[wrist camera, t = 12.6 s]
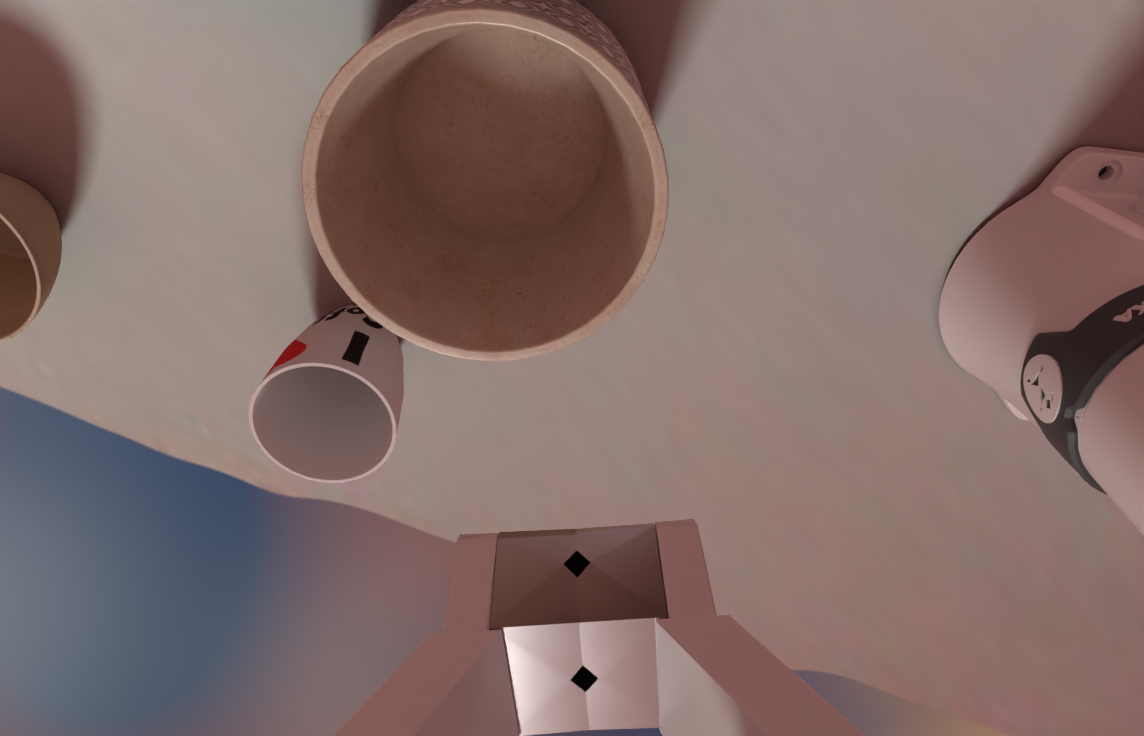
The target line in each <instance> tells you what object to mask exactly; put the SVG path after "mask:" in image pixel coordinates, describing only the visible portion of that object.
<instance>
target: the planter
mask: <svg viewBox="0 0 1144 736" xmlns="http://www.w3.org/2000/svg"><path fill="white" fill-rule="evenodd" d="M301 174H302V189H303V202H304V207H305V211H306V215H307V219H308V224H309V228H310V231H311V233H312V236H313V238H314V241H315V243H316V246H317V248H318V251H319V253H320V255H321V257H322V259H323V260H324V262H325V264H326V265H327V267H328V269H329V270H330V272H331V274H332V275H333V277H334V279H335V280H336V281H337V282H338V284H339V285H340V286H341V287H342V289H343V290H344V291H345V292H346V294H347V295H348V296H349V297H350V298H351V300H352V301H354V302H355V303H356V304H357V305H358V306H359V307H360V308H361V309H362V310H363V311H364V312H365V313H366V314H367V315H369V316H370V317H371V318H372V319H374V320H375V321H376V322H378V323H379V324H381V325H382V326H383V327H385V328H386V329H388V330H389V331H391V332H392V333H394V334H396V335H398V336H399V337H401V338H403V339H405V340H407V341H409V342H411V343H413V344H415V345H417V346H420V347H423V348H426V349H428V350H431V351H434V352H437V353H440V354H443V355H448V356H453V357H457V358H462V359H467V360H481V361H507V360H520V359H525V358H530V357H535V356H540V355H544V354H547V353H550V352H552V351H555V350H558V349H561V348H564V347H567V346H569V345H571V344H572V343H574V342H576V341H578V340H580V339H582V338H584V337H586V336H588V335H590V334H591V333H592V332H594V331H595V330H597V329H598V328H599V327H601V326H602V325H603V324H605V323H606V322H607V321H609V320H610V319H611V318H612V317H613V316H614V315H615V314H616V313H617V312H618V311H619V310H620V309H621V308H622V307H623V306H624V305H625V304H626V303H627V302H628V301H629V300H630V299H631V297H632V296H633V295H634V293H635V292H636V290H637V289H638V288H639V286H640V285H641V284H642V282H643V281H644V279H645V277H646V275H647V273H648V271H649V270H650V268H651V266H652V264H653V262H654V260H655V258H656V255H657V252H658V249H659V246H660V243H661V240H662V237H663V234H664V230H665V224H666V217H667V211H668V173H667V167H666V161H665V155H664V149H663V147H662V144H661V141H660V138H659V135H658V132H657V129H656V126H655V123H654V120H653V118H652V115H651V112H650V110H649V107H648V104H647V102H646V99H645V96H644V94H643V91H642V88H641V86H640V83H639V80H638V78H637V75H636V72H635V70H634V68H633V66H632V64H631V62H630V60H629V58H628V56H627V55H626V53H625V51H624V49H623V47H622V46H621V45H620V43H619V42H618V41H617V39H616V38H615V37H614V35H613V34H612V33H611V31H610V30H609V29H608V27H606V26H605V25H604V24H603V23H602V22H601V21H600V20H599V19H598V18H597V17H596V16H595V15H594V14H593V13H592V12H591V11H590V10H588V9H587V8H585V7H584V6H582V5H581V4H579V3H578V2H577V1H575V0H417V1H415V2H414V3H412V4H411V5H409V6H408V7H406V8H405V9H404V10H403V11H402V12H401V13H399V14H398V15H397V16H396V17H395V18H394V19H393V20H392V21H391V22H389V23H388V24H387V25H386V26H385V27H384V28H383V29H382V30H381V31H379V32H378V33H377V34H376V35H375V36H374V37H373V38H372V39H371V40H369V41H368V42H367V43H366V44H365V45H364V46H363V47H362V48H361V49H360V50H359V51H358V52H357V53H356V54H355V55H354V56H353V57H351V58H350V59H349V60H348V61H347V62H346V63H345V64H344V65H343V66H342V67H341V69H340V70H339V71H338V73H337V74H336V76H335V77H334V78H333V80H332V81H331V83H330V84H329V85H328V87H327V88H326V90H325V91H324V93H323V95H322V97H321V99H320V101H319V103H318V106H317V108H316V110H315V112H314V114H313V116H312V119H311V122H310V126H309V130H308V133H307V137H306V141H305V144H304V153H303V163H302V173H301Z"/></svg>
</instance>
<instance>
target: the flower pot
mask: <svg viewBox="0 0 1144 736" xmlns="http://www.w3.org/2000/svg"><path fill="white" fill-rule="evenodd" d="M61 250H62V241H61V231H60V226H59V222H58V218H57V216H56V213H55V211H54V209H53V207H52V206H51V204H50V203H49V201H48V200H47V199H46V198H45V197H44V196H43V195H42V194H41V193H40V192H39V191H38V190H36V189H35V188H34V187H32V186H31V185H29V184H27V183H26V182H23V181H21V180H19V179H17V178H14V177H12V176H9V175H6V174H3V173H0V342H3V341H6V340H8V339H10V338H13V337H14V336H16V335H17V334H19V333H20V332H22V331H23V330H24V329H25V328H26V327H27V326H28V325H29V324H30V323H31V321H32V320H33V319H34V318H35V316H36V315H37V314H38V312H39V311H40V309H41V308H42V306H43V305H44V303H45V301H46V299H47V298H48V296H49V294H50V292H51V290H52V287H53V285H54V283H55V280H56V277H57V274H58V270H59V266H60V260H61Z"/></svg>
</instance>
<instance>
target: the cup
mask: <svg viewBox="0 0 1144 736" xmlns="http://www.w3.org/2000/svg"><path fill="white" fill-rule="evenodd" d="M403 393H404V388H403V355H402V351H401V348H400V344H399V341H398V338H397V335H396V334H394V333H392V332H391V331H389V330H388V329H386V328H385V327H383V326H382V325H381V324H379V323H378V322H376V321H375V320H374V319H372V318H371V317H370V316H369V315H367V314H366V313H365V312H364V311H363V310H362V309H361V308H360V307H359V306H358V305H349V306H344V307H341V308H338V309H336V310H334V311H332V312H331V313H329V314H327V315H325V316H323V317H321V318H319V319H317V320H316V321H314V322H313V323H312V324H311V325H310V326H309V327H308V328H307V329H306V330H304V331H303V332H302V333H301V334H300V335H299V336H298V337H297V338H296V339H295V340H294V341H293V342H292V343H291V344H290V345H289V346H288V347H287V348H286V349H285V350H284V351H283V353H282V354H281V355H280V357H279V358H278V360H277V361H276V362H275V364H274V365H273V367H272V368H271V369H270V371H269V372H268V374H267V375H266V376H265V378H264V379H263V381H262V382H261V383H260V385H259V386H258V388H257V389H256V391H255V392H254V394H253V396H252V399H251V402H250V407H249V423H250V427H251V431H252V433H253V436H254V438H255V440H256V442H257V443H258V445H259V447H260V448H261V449H262V451H263V452H264V453H265V454H266V455H267V456H268V457H269V458H270V459H271V460H272V461H273V462H275V463H276V464H277V465H279V466H280V467H281V468H283V469H285V470H286V471H288V472H290V473H292V474H294V475H297V476H299V477H302V478H305V479H308V480H312V481H317V482H325V483H341V482H348V481H353V480H356V479H359V478H362V477H364V476H367V475H369V474H370V473H372V472H374V471H375V470H377V469H378V468H379V467H380V466H381V465H382V464H383V463H384V462H385V461H386V460H387V458H388V457H389V455H390V454H391V452H392V450H393V447H394V444H395V440H396V435H397V429H398V423H399V418H400V412H401V407H402V401H403Z"/></svg>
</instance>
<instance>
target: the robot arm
mask: <svg viewBox="0 0 1144 736" xmlns="http://www.w3.org/2000/svg"><path fill="white" fill-rule="evenodd" d="M1105 166H1107V169H1106V171H1105V173H1104V174H1102V175H1101V176H1098V174H1099V171H1100V170H1101V169H1102V168H1103V167H1105ZM939 324H940V331H941V335H942V338H943V341H944V344H945V346H946V348H947V350H948V352H949V353H950V355H951V356H952V358H953V359H954V360H955V361H956V362H957V363H958V364H959V365H960V366H961V367H962V368H963V369H964V370H965V371H967V372H968V373H970V374H971V375H973V376H974V377H976V378H978V379H979V380H981V381H982V382H984V383H985V384H987V385H988V386H990V387H991V388H992V389H994V390H995V391H996V392H997V393H998V395H999V397H1000V398H1001V400H1002V402H1003V403H1004V405H1005V406H1006V407H1007V408H1008V409H1009V410H1010V411H1011V412H1012V413H1013V414H1014V415H1015V416H1017V417H1018V418H1020V419H1023V420H1030V421H1031V422H1032V423H1033V424H1034V425H1036V426H1037V427H1038V428H1039V429H1040V430H1041V431H1042V432H1043V433H1044V435H1045V436H1046V438H1047V439H1048V441H1049V442H1050V443H1051V444H1052V445H1053V447H1054V448H1055V449H1056V450H1057V451H1058V452H1059V453H1060V454H1061V456H1062V457H1063V458H1064V459H1065V460H1066V461H1067V462H1068V463H1069V464H1070V467H1071V468H1072V470H1073V471H1074V472H1075V473H1076V474H1077V475H1079V476H1080V477H1082V478H1083V479H1084V480H1085V481H1086V482H1087V483H1088V484H1090V485H1091V486H1092V487H1093V488H1095V489H1097V490H1099V491H1100V492H1102V493H1105V494H1107V495H1108V496H1109V497H1110V498H1111V499H1112V500H1113V501H1114V502H1115V504H1116V505H1117V506H1118V507H1119V508H1120V509H1121V510H1122V512H1123V513H1124V514H1125V515H1126V516H1127V517H1128V518H1129V519H1130V521H1131V522H1132V523H1133V524H1134V525H1135V526H1136V527H1137V529H1138V530H1139V531H1140V532H1141V533H1142V534H1143V535H1144V153H1142V152H1134V151H1126V150H1117V149H1109V148H1101V147H1092V146H1085V147H1080V148H1078V149H1075V150H1074V151H1072V152H1071V153H1069V154H1068V155H1067V156H1066V157H1065V158H1063V159H1062V160H1061V161H1060V163H1059V164H1058V165H1057V166H1056V167H1055V168H1054V169H1053V170H1052V171H1051V173H1050V174H1049V175H1048V176H1047V177H1046V178H1045V180H1044V181H1043V182H1042V183H1041V184H1040V186H1039V187H1038V188H1037V189H1035V190H1034V191H1033V192H1032V193H1030V194H1029V195H1027V196H1026V197H1024V198H1023V199H1021V200H1020V201H1018V202H1016V203H1015V204H1013V205H1012V206H1010V207H1008V208H1007V209H1005V210H1004V211H1002V212H1001V213H1000V214H998V215H997V216H996V217H994V218H993V219H992V220H990V221H989V222H988V223H987V224H986V225H985V226H984V227H983V228H982V229H980V230H979V231H978V232H977V233H976V234H975V236H974V237H973V238H972V239H971V240H970V241H969V242H968V244H967V245H966V246H965V247H964V249H963V250H962V252H961V253H960V254H959V256H958V257H957V259H956V261H955V262H954V264H953V266H952V268H951V270H950V272H949V274H948V276H947V279H946V281H945V284H944V287H943V291H942V294H941V299H940V306H939ZM629 728H660V732H661V733H662V735H663V736H865V735H864V734H863V733H862V732H861V731H860V730H859V729H857V728H856V727H855V726H854V725H853V724H852V723H851V722H850V721H848V720H847V719H846V718H845V717H844V716H843V715H842V714H840V713H839V712H838V711H837V710H836V709H835V708H834V707H832V706H831V705H830V704H829V703H828V702H827V701H826V700H825V699H823V698H822V697H821V696H820V695H819V694H818V693H816V692H815V691H814V690H813V689H812V688H811V687H810V686H809V685H807V684H806V683H805V682H804V681H803V680H802V679H801V678H800V677H799V676H797V675H796V674H795V673H794V672H793V671H792V670H791V669H789V668H788V667H787V666H786V665H785V664H784V663H783V662H782V661H780V660H779V659H778V658H777V657H776V656H775V655H774V654H772V653H771V652H770V651H769V650H768V649H767V648H766V647H764V646H763V645H762V644H761V643H760V642H759V641H758V640H757V639H755V638H754V637H753V636H752V635H751V634H750V633H749V632H747V631H746V630H745V629H744V628H743V627H742V626H741V625H740V624H738V623H737V622H736V621H735V620H734V619H733V618H732V617H730V616H729V615H722V616H717V614H716V609H715V605H714V600H713V595H712V591H711V586H710V581H709V577H708V572H707V568H706V563H705V558H704V554H703V549H702V544H701V540H700V535H699V530H698V526H697V523H696V522H695V521H694V520H693V519H688V520H677V521H665V522H655V524H653V523H649V524H636V525H622V526H609V527H595V528H582V529H563V530H540V531H517V532H500V533H499V534H498V533H489V534H465V535H460V536H459V538H458V540H457V542H456V544H455V550H454V557H453V563H452V570H451V576H450V583H449V589H448V596H447V602H446V608H445V615H444V621H443V628H442V633H440V634H430V635H429V636H428V637H427V638H426V639H425V640H424V641H423V642H422V643H421V644H420V645H419V646H418V647H417V648H416V649H415V650H414V651H413V652H412V654H411V655H410V656H409V657H408V658H407V659H406V660H405V661H404V662H403V663H402V664H401V665H400V666H399V667H398V668H397V669H396V670H395V671H394V672H393V673H392V675H391V676H390V677H389V678H388V679H387V680H386V681H385V682H384V683H383V684H382V685H381V686H380V687H379V688H378V690H376V691H375V692H374V694H372V696H371V697H370V698H369V699H368V700H367V701H366V702H365V703H364V704H363V705H362V706H361V707H360V708H359V709H358V710H357V711H356V712H355V713H354V715H353V716H352V717H351V718H350V719H349V720H348V721H347V722H346V723H345V724H344V725H343V726H342V727H341V728H340V729H339V730H338V731H337V732H336V733H335V735H333V736H524V735H536V734H547V733H558V732H570V731H581V730H589V729H590V730H599V729H629Z"/></svg>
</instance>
